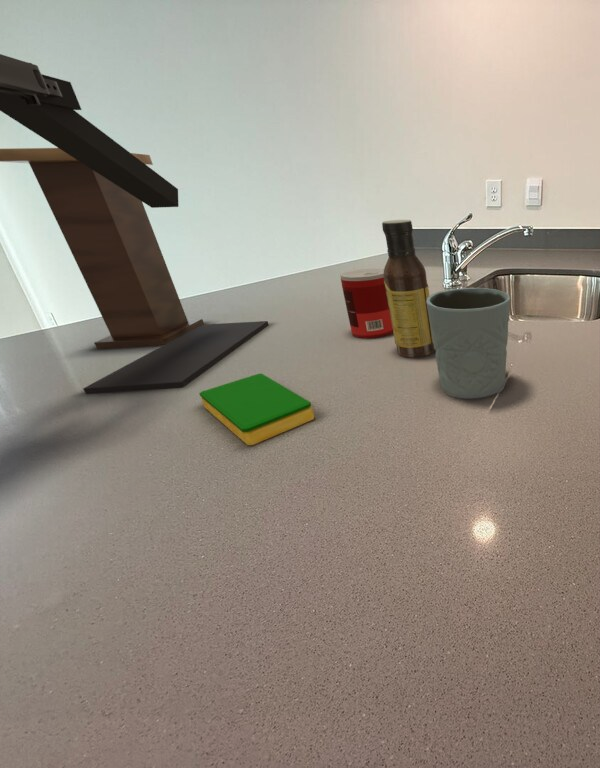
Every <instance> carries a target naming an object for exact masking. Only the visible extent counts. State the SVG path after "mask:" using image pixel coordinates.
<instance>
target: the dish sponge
mask: <svg viewBox="0 0 600 768" xmlns="http://www.w3.org/2000/svg"><path fill="white" fill-rule="evenodd" d="M199 397H200V399H201V401H202V404H203V406H204V408H205V409H206V410H207V411H208V412H209V413H210V414H211V415H212V416H214V417H215V418H216V419H217V420H218V421H220V422H221V423H222V424H223V425H224V426H225V427H226V428H227V429H228V430H230V431H231V432H232V433H233V434H234V435H235V436H237V438H239V439H240V440H241V441H242V442H244V443H245V444H246V446H253V445H256V444H258V443H262V442H263V441H266V440H268V439H271V438H272V437H275V436H278V435H280V434H283V433H285V432H287V431H290V430H291V429H294V428H297V427H299V426H301V425H303V424H306V423H308V422H311V421H312V420H314V419H315V413H314V409H313V407H312V402H311V401H309V400H307V399H306V398H304V397H302V396H301V395H299V394H298V393H296V392H294V391H292V390H290V389H289V388H287V387H286V386H283V384H281V383H279V382H277V381H276V380H273V379H272V378H271V377H268V376H266V375H265V374H264V373H257V374H254V375H250V376H247V377H244V378H241V379H238V380H234V381H231V382H228V383H227V382H226V383H225V384H221V385H218V386H215V387H212V388H208V389H205V390H202V391H200V392H199Z"/></svg>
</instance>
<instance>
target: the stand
mask: <svg viewBox="0 0 600 768" xmlns="http://www.w3.org/2000/svg"><path fill="white" fill-rule="evenodd" d="M130 153H131V154H132V155H134V156H135V157H136V158H138V159H139V160H140V161H142V162H143V163H144V164H146V165H147V166H153V165H154V163H153V162H152V158H151V155H150V154H145V153H134V152H130ZM0 163H16V164H29V166H30V168H31V170H32V172H33V175H34V177H35V178H36V181H37V183H38V185H39V187H40V190H41V191H42V194H43V196H44V197H45V200H46V202H47V204H48V206H49V209H50V211H51V213H52V214H53V217H54V219H55V221H56V223H57V225H58V227H59V230H60V231H61V234H62V236H63V238H64V240H65V242H66V244H67V246H68V248H69V250H70V252H71V255H72V256H73V259H74V260H75V263H76V265H77V267H78V269H79V271H80V274H81V276H82V277H83V280H84V282H85V284H86V286H87V288H88V290H89V292H90V295H91V296H92V299H93V301H94V303H95V305H96V307H97V309H98V311H99V313H100V315H101V318H102V320H103V322H104V324H105V326H106V328H107V330H108V332H109V335H108V336H107V337H104V338H102V339H100V340H97V341H94V343H93V344H94V346H95V348H96V350H101V349H103V350H104V349H121V348H136V347H137V348H138V347H154V346H163V345H165V344H167V343H169V342H171V341H173V340H175V339H176V338H178V337H180V336H182V335H184V334H186V333H188V332H189V331H191V330H193V329H195V328H197V327H199V326H201V325H204V324H205V323H204V320H203V318H194V319H193V318H192V319H188V318H187V314H186V313H185V309H184V308H183V305H182V302H181V300H180V297H179V294H178V291H177V289H176V287H175V283H174V281H173V279H172V278H173V277H172V276H171V273H170V271H169V268H168V266H167V263H166V260H165V258H164V255H163V253H162V250H161V247H160V246H159V242H158V239H157V237H156V234H155V232H154V229H153V227H152V224H151V222H150V219H149V216H148V214H147V211H146V209H145V205H144V202H142V201H141V200H139V199H137V198H136V197H134V196H133V195H131V194H130V193H128V192H127V191H125V190H123V189H122V188H120V187H119V186H117V185H116V184H114V183H112V182H111V181H109V180H108V179H106V178H105V177H103V176H101V175H100V174H98V173H97V172H95V171H94V170H92V169H91V168H89V167H87V166H86V165H84V164H83V163H81V162H80V161H78V160H76V159H75V158H73V157H72V156H70V155H69V154H67V153H66V152H64V151H62V150H61V149H59V148H58V147H24V148H23V147H22V148H19V147H18V148H17V147H16V148H13V147H12V148H0Z"/></svg>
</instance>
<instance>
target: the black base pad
mask: <svg viewBox="0 0 600 768" xmlns="http://www.w3.org/2000/svg"><path fill="white" fill-rule="evenodd" d="M269 325H270V324H269V321H268V320H263V321H261V320H260V321H259V320H258V321H243V322H241V321H240V322H226V323H225V322H224V323H207V324H205V323H204V325H201V326H199V327H197V328H195V329H193V330H191V331H189V332H188V333H186V334H184V335H182V336H180V337H178V338H176V339H175V340H173V341H171V342H169V343H167V344H165V345H160V347H158V348H156V349H154V350H153V351H150V352H148V353H146V354H145V355H143V356H141V357H139V358H137V359H135V360H133V361H132V362H130V363H128V364H126V365H124V366H122V367H120V368H119V369H117V370H115V371H113V372H111V373H109V374H107V375H105V376H103V377H102V378H100V379H98V380H97V381H94V382H92V383H90V384H89V385H87V386H85V387H83V388H82V389H83V391H84V393H85V394H86V395H92V394H105V393H106V394H107V393H120V392H121V393H122V392H137V391H149V390H150V391H151V390H165V389H180V388H185V387H186V386H187V385H189V384H190V383H191V382H193V381H194V380H196V379H197V378H198V377H200V376H201V375H203V374H204V373H205V372H207V371H208V370H209V369H211V368H212V367H213V366H215V365H216V364H218V363H219V362H220V361H222V360H223V359H224V358H225V357H227V356H228V355H230V354H231V353H233V352H234V351H235V350H237V349H238V348H240V347H241V346H242V345H244V344H245V343H246V342H247V341H249V340H251V339H252V338H253V337H255V336H256V335H258V334H259V333H260V332H261V331H263V330H265V329H266V328H267V327H268V326H269Z"/></svg>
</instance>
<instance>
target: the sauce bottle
mask: <svg viewBox="0 0 600 768" xmlns="http://www.w3.org/2000/svg"><path fill="white" fill-rule="evenodd" d="M381 227H382V232H383V235H384V236H385V242H386V248H387V250H386V251H387V255H388V258H387V261H386V264H385V265H384V268H383V269H384V283H385V288H386V294H387V300H388V305H389V311H390V316H391V322H392V328H393V333H392V334H393V338H394V343H395V345H396V351H397V354H398V355H400V357H404V358H422V357H426V356H428V355H431V354H433V353H435V352H436V350H435V349H434V344H433V338H432V332H431V326H430V319H429V315H428V309H427V303H426V300H427V298H428V297H429V296H430V290H429V284H428V280H427V279H428V278H427V272H426V269H425V266H424V264H423V263H422V261H421V260H420V259H419V258H418V257H417V255H416V248H415V245H414V237H413V231H414V228H413V221H412V220H411V219H392V220H384V221H382V223H381Z"/></svg>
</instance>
